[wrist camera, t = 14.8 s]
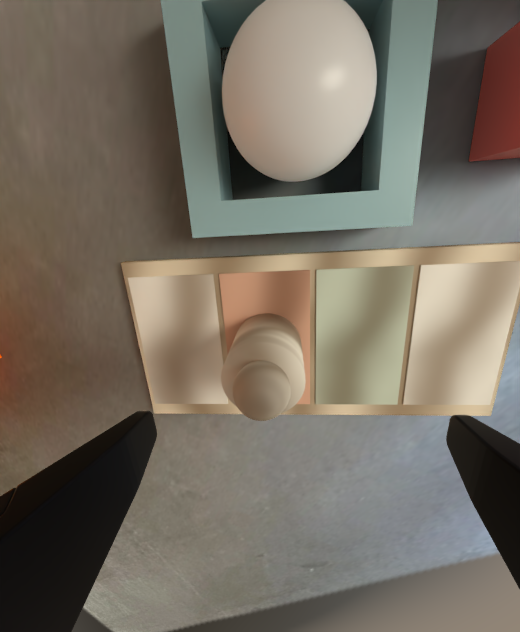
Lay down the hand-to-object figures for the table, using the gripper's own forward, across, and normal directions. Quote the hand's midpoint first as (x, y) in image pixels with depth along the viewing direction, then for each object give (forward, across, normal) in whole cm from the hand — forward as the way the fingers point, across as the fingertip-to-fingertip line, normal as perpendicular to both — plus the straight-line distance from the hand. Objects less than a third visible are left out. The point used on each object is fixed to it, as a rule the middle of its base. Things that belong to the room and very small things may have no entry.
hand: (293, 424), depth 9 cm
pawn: (+11, +2, +3) cm, 11 cm away
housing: (+12, 0, -10) cm, 16 cm away
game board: (+12, -1, +2) cm, 12 cm away
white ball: (+11, 0, -10) cm, 15 cm away
